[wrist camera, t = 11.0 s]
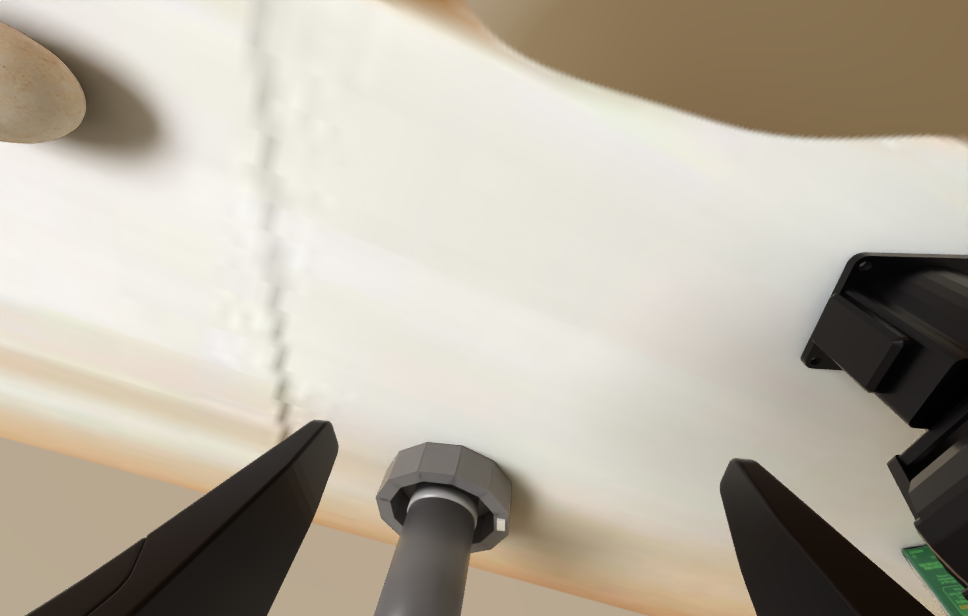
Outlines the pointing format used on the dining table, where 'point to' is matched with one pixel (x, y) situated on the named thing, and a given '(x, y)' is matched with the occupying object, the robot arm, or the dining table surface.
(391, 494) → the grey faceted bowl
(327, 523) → the dining table surface
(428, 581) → the dark grey banded cylinder
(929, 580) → the coffee box
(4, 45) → the stone
